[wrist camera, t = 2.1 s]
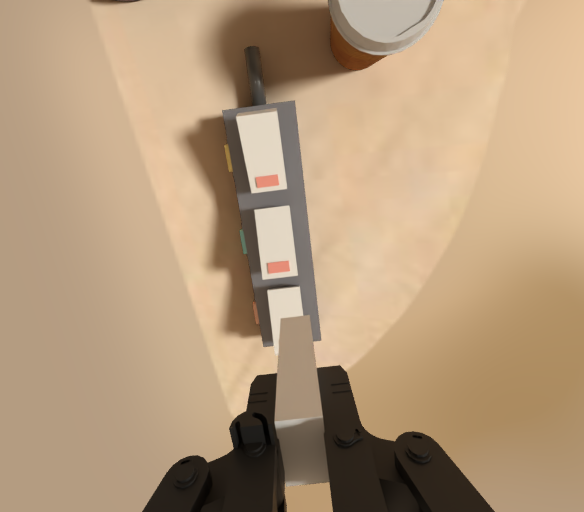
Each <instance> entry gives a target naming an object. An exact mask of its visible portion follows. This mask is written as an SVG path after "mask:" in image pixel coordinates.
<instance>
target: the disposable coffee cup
mask: <svg viewBox="0 0 584 512" xmlns="http://www.w3.org/2000/svg"><path fill="white" fill-rule="evenodd" d="M443 1H444V0H328V5H329V11H330V14H331V31H330V32H331V33H330V34H331V35H330V45H331V49H332V52H333V54H334V57H335V58H336V60H337V61H338V62H339V63H340V64H341V65H342V66H344V67H345V68H348V69H351V70H362V69H365V68H368V67H369V66H371V65H372V64H374V63H376V62H377V61H379V60H381V59H382V58H384V57H386V56H387V55H391V54H395V53H398V52H401V51H403V50H405V49H407V48H409V47H411V46H412V45H414V44H415V43H416V42H417V41H419V40H420V39H421V38H422V37H423V36H424V35H425V34H426V33H427V32H428V30H429V29H430V27H431V26H432V25H433V23H434V21H435V20H436V18H437V16H438V14H439V12H440V9H441V6H442V3H443Z"/></svg>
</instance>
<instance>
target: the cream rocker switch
mask: <svg viewBox="0 0 584 512" xmlns="http://www.w3.org/2000/svg"><path fill="white" fill-rule="evenodd" d="M267 293H268V301H269V309H270V318H271V326H272V335H273V343H274V351H275V355H278V353H279V337H280V320H281V318H288V317H297V316H303V309H302V301H301V293H300V286H291V287H283V288H274V289H268V290H267Z"/></svg>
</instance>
